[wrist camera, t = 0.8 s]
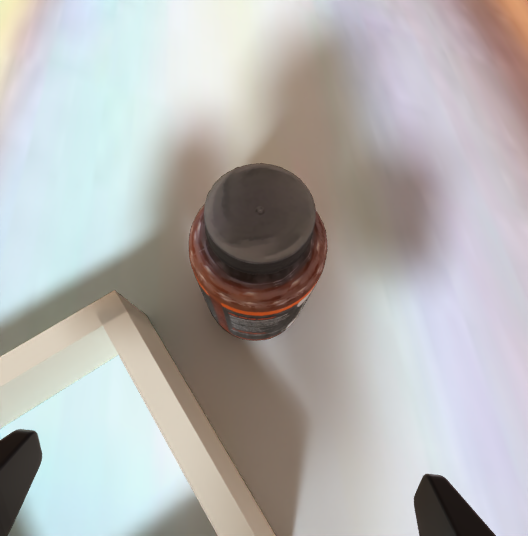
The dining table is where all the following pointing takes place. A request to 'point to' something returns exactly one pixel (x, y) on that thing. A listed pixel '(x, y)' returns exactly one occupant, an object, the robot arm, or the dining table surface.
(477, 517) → the robot arm
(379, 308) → the dining table surface
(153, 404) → the frame
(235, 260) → the supplement bottle
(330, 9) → the dining table surface
